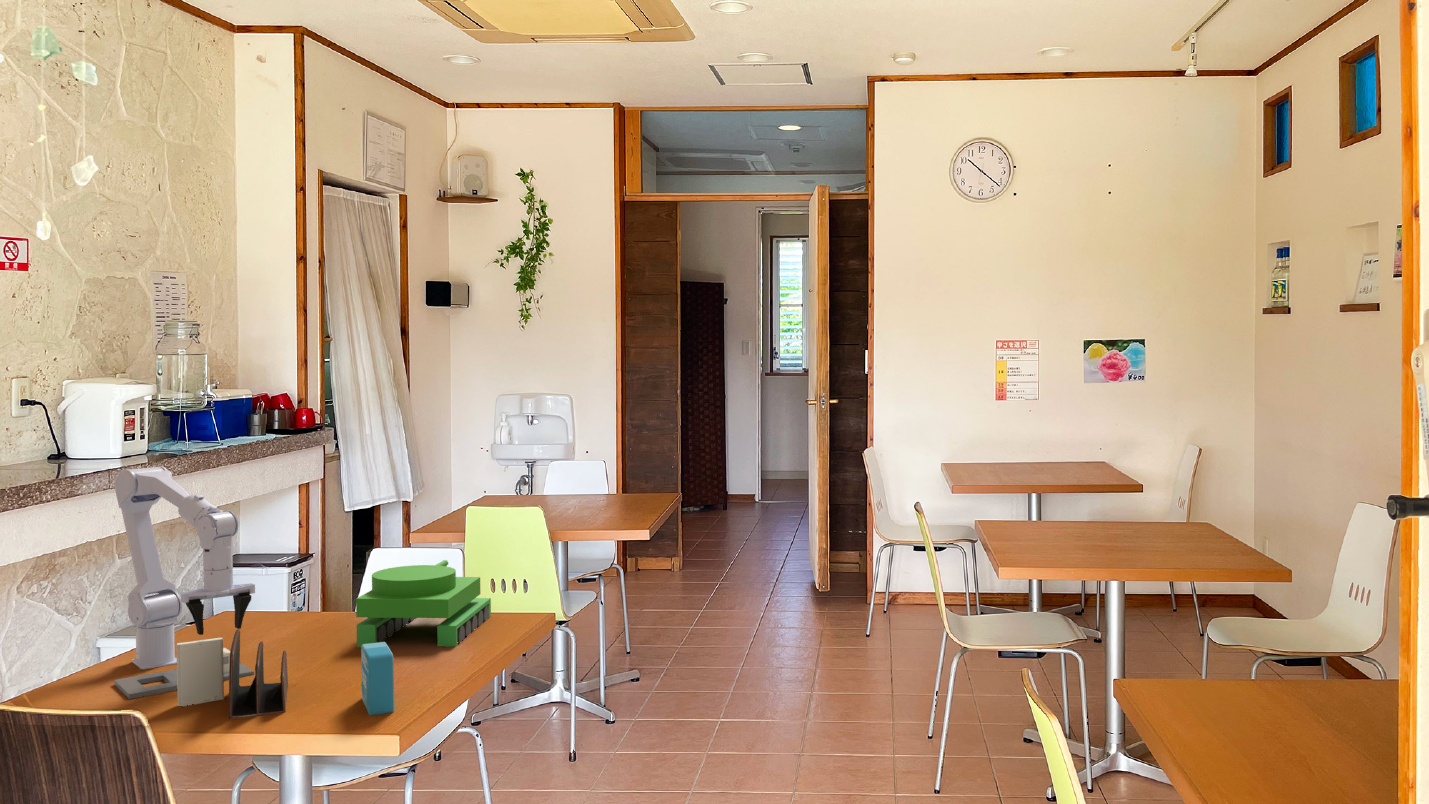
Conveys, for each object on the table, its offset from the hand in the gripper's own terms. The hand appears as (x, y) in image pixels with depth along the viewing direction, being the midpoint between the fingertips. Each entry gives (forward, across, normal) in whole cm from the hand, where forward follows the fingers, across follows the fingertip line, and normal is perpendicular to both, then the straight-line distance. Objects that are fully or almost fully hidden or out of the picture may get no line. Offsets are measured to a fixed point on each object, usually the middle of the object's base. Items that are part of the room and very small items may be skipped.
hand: (219, 630), depth 229 cm
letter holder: (+10, 0, -27) cm, 28 cm away
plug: (+10, 0, 0) cm, 10 cm away
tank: (+10, +50, +3) cm, 52 cm away
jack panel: (+9, -7, 0) cm, 12 cm away
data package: (+10, +15, -46) cm, 50 cm away
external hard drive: (+10, -9, -19) cm, 23 cm away
